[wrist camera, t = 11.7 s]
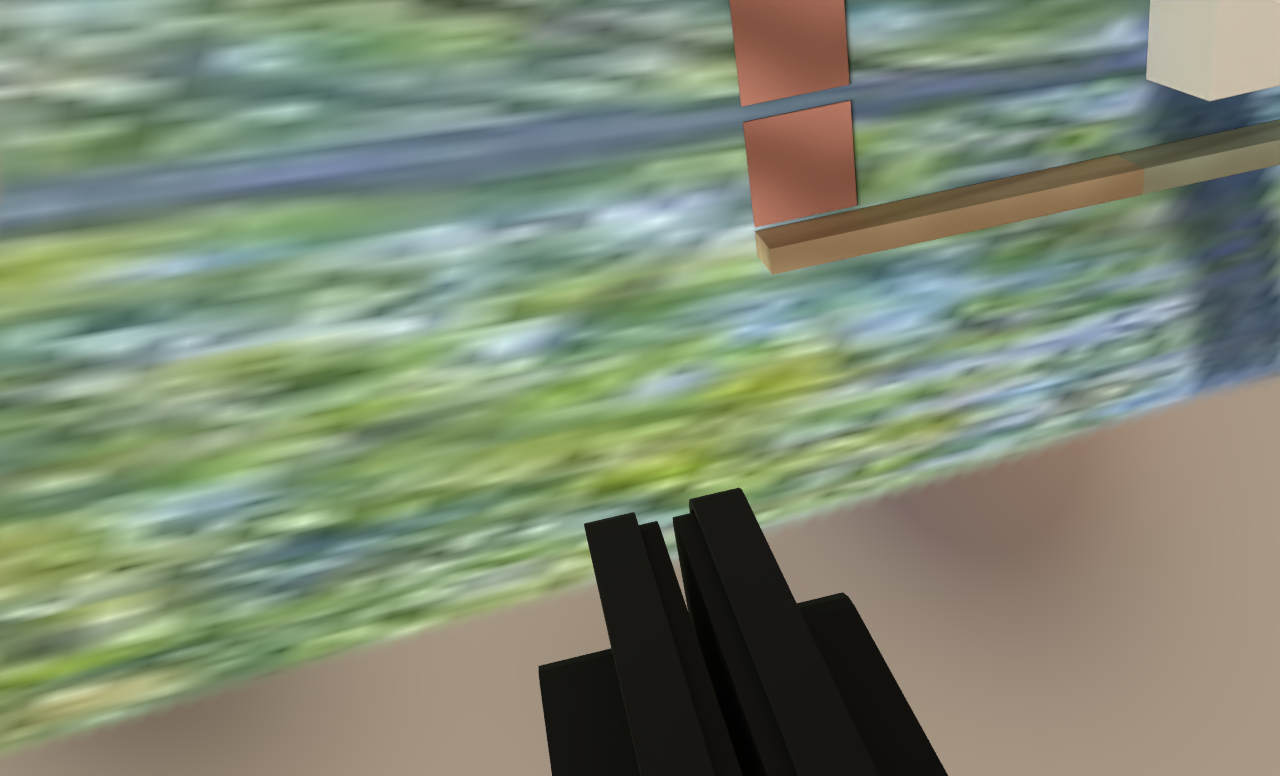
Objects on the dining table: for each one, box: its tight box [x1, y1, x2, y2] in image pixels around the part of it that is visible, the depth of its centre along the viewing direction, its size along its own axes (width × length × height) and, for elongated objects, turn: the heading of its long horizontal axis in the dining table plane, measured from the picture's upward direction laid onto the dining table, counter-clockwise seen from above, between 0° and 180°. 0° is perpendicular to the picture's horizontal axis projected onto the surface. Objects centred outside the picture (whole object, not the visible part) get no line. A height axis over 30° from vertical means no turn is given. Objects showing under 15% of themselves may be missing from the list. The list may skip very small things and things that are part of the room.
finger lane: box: [729, 0, 1280, 274], centre depth 39 cm, size 11×23×2 cm, turn 99°
